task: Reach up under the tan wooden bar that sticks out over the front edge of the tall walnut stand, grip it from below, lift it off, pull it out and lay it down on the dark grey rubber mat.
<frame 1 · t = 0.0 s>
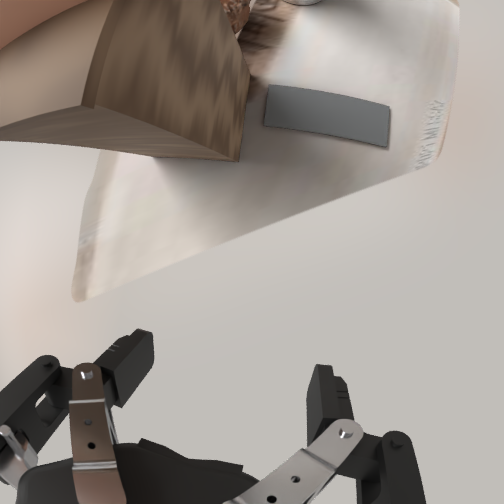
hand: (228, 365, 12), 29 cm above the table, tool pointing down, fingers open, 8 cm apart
mat: (328, 113, 35), on the table
decorative rock: (216, 25, 34), on the table
stand: (198, 114, 37), on the table
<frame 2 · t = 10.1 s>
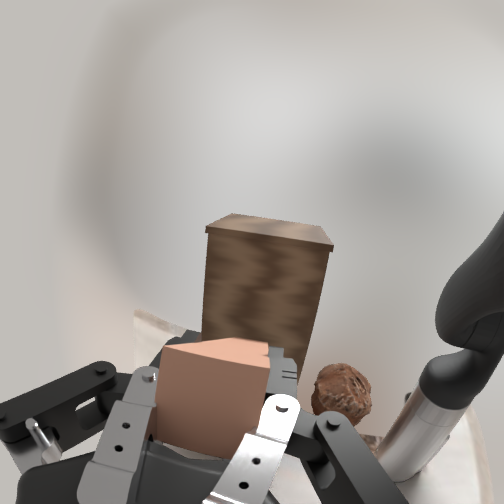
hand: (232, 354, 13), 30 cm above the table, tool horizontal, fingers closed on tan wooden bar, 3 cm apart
tan wooden bar: (235, 390, 18), point 24 cm above the table, tilted 30°, touching gripper
decorative rock: (334, 413, 44), on the table
stand: (246, 402, 46), on the table
when the fingers open (14 cm above the table, at t = 13.4 s): tan wooden bar drops 8 cm, resting on mat.
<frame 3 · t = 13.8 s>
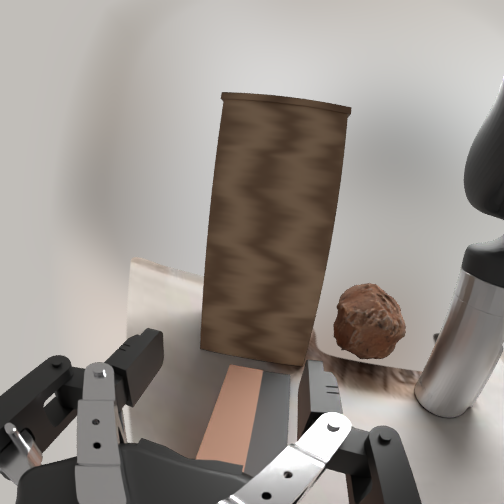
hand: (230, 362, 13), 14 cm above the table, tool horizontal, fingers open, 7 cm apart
mat: (254, 427, 23), on the table
tan wooden bar: (221, 469, 17), point 1 cm above the table, touching mat
decorative rock: (361, 347, 40), on the table
stand: (257, 333, 42), on the table
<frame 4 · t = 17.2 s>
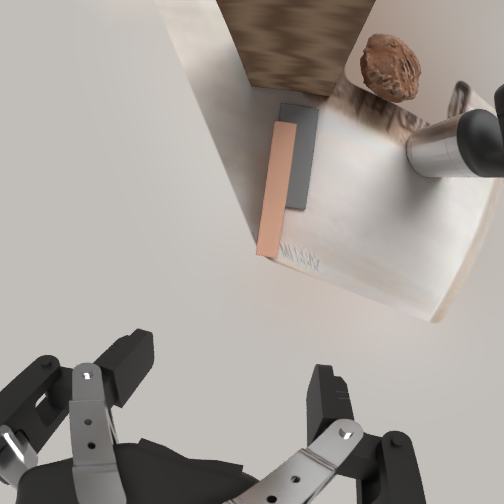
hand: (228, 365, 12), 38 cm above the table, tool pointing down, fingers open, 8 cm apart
mat: (293, 155, 45), on the table
tan wooden bar: (277, 188, 46), point 1 cm above the table, touching mat
decorative rock: (383, 77, 40), on the table
stand: (294, 58, 41), on the table
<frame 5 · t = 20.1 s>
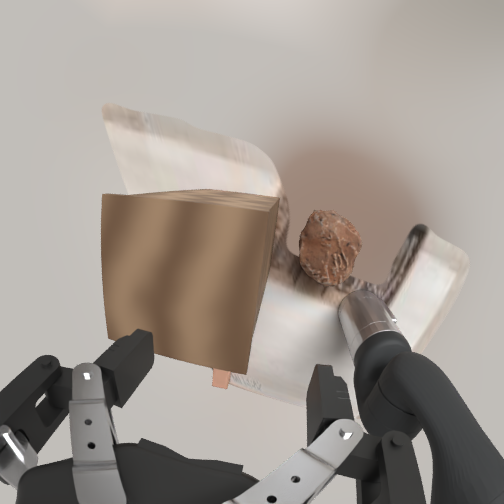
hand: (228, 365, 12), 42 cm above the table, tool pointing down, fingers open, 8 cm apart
tan wooden bar: (226, 342, 60), point 1 cm above the table, touching mat
decorative rock: (325, 241, 52), on the table
stand: (238, 229, 54), on the table
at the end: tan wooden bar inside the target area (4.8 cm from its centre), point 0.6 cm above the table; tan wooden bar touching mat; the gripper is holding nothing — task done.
